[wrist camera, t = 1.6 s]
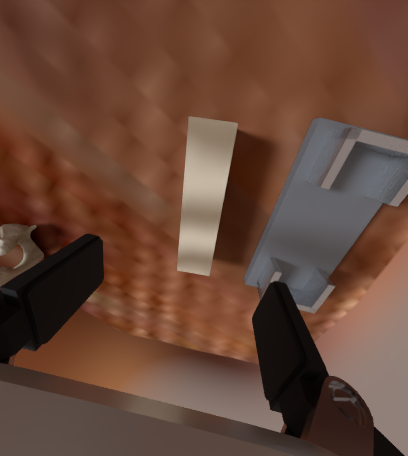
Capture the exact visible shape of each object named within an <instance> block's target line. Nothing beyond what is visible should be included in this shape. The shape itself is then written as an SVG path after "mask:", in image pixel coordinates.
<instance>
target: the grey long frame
mask: <svg viewBox="0 0 408 456" xmlns="http://www.w3.org/2000/svg"><path fill="white" fill-rule="evenodd" d="M353 146H354V147H358V148H362V149H366V150H370V151H374V152H378V153H382V154H386V155H390V156H391V157H390V159H389V160H388V162H387V163H386V165H385V166H384V168H383V169H382V171H381V172H380V174H379V175H378V177H377V178H376V180H375V181H374V183H373V184H372V186H371V187H370V189H369V190H368V192H367V193H366V195H365V196H366V197H369V198H372V199H375V200H377V201H380V202H383V203H386V204H388V205H392V206H396V207H398V206H399V204H400V203H401V202H402V201H403V199H404V198H405V197H406V195H407V194H408V141H405V140H401V139H398V138H394V137H390V136H386V135H382V134H378V133H374V132H370V131H366V130H362V129H359V128H355V127H349V128H342V129H334V130H331V131H330V133H329V135H328V137H327V139H326V141H325V143H324V145H323V147H322V150H321V152H320V154H319V156H318V158H317V160H316V162H315V164H314V166H313V168H312V170H311V172H310V174H309V176H308V178H307V180H306V181H307V182H310V183H312V184H314V185H316V186H319V187H321V188H325V189H330V187H331V185H332V183H333V182H334V180H335V178H336V176H337V174H338V173H339V171H340V169H341V167H342V166H343V164H344V162H345V160H346V158H347V157H348V155H349V153H350V151H351V149H352V148H353ZM281 274H282V272H281V270H280V268H279V265H278V263H277V261H276V259H275V258H273V257H269V258H268V260H267V262H266V264H265V266H264V268H263V270H262V272H261V274H260V276H259V278H258V281H257V283H256V284H257V289H258V293H259V297H260V300H261V299H262V297H263V295H264V293H265V291H266V289H267V287H268V285H269V283H271V282H272V283H273V281H278V280H279V278H280V276H281ZM288 288H289V290H290V292H291V294H292V297H293V299H294V301H295V303H296V305H297V307H298V309H299V310H303V311H307V312H311V313H315V312H316V311H317V310H318V308H319V307H320V306H321V305H322V303H323V302H324V301H325V299H326V298H327V297H328V296H329V294H330V293H331V292H332V290H333V289H334V288H335V285H334V284H333V283H332V281H331V280H330V279H329V278H328V276H327V275H326V274H325V273H324V271H323V270H321V269H317V268H316V270H315V271H314V273H313V274H312V276H311V277H310V279H309V280H308V282H307V283H306V285H305V286H304V288H303V289H302V290H300V289H296V288H292V287H288Z"/></svg>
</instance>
